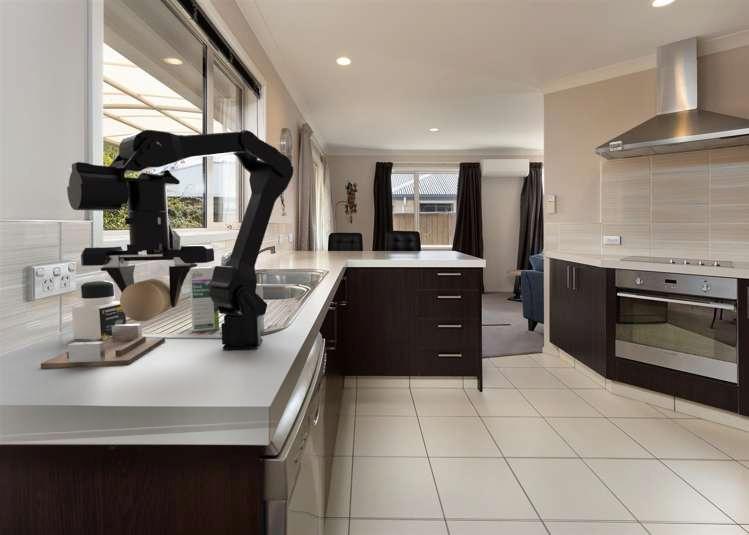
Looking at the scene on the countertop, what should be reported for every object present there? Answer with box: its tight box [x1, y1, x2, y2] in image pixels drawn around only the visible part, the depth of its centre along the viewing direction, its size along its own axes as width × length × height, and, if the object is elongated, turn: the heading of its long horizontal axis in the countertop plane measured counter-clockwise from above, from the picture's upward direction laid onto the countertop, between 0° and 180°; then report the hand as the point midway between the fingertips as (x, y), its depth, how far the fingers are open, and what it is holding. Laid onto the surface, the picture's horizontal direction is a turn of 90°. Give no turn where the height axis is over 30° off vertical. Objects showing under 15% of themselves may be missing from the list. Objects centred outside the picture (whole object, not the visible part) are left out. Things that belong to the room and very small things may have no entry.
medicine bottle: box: [71, 280, 127, 341], centre depth 95 cm, size 7×7×12 cm
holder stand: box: [40, 323, 166, 369], centre depth 81 cm, size 14×16×4 cm
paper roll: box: [119, 275, 183, 322], centre depth 71 cm, size 6×10×6 cm, turn 7°
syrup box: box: [188, 265, 220, 333], centre depth 101 cm, size 6×6×14 cm
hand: (153, 307), depth 72 cm, fingers closed on paper roll, 6 cm apart
